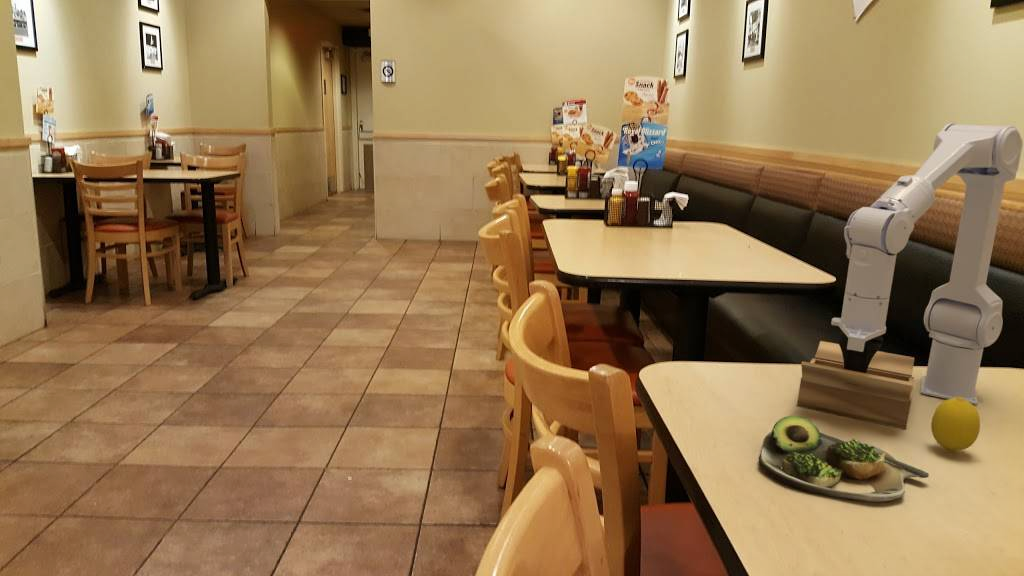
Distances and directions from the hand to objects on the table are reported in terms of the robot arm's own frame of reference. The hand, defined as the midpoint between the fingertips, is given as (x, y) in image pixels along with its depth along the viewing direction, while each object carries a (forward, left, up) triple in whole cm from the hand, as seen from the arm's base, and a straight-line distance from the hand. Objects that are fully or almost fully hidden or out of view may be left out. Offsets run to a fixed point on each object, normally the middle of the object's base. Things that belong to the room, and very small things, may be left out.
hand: (853, 384), depth 107 cm
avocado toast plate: (+18, -1, -7) cm, 19 cm away
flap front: (0, 0, +1) cm, 1 cm away
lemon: (+3, +13, -6) cm, 15 cm away
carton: (-8, 0, -6) cm, 10 cm away
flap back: (-17, 0, -1) cm, 17 cm away
